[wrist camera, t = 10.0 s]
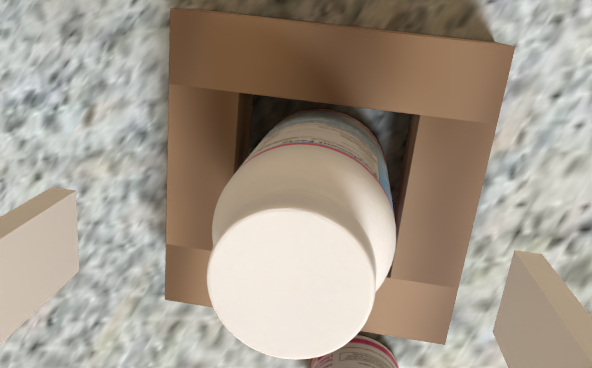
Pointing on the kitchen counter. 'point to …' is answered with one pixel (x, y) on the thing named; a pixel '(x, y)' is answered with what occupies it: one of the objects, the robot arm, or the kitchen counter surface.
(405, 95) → the socket block
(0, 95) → the kitchen counter surface
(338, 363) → the pill bottle
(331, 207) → the pill bottle
